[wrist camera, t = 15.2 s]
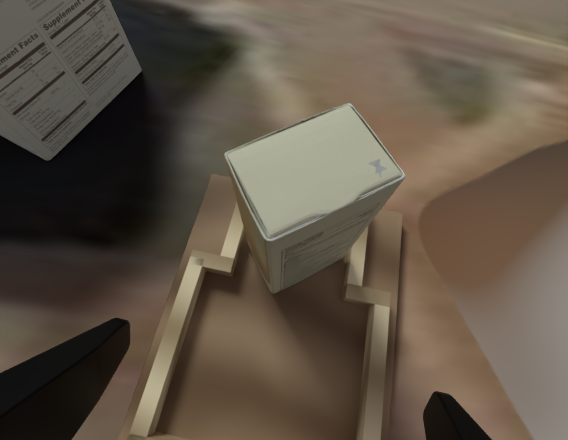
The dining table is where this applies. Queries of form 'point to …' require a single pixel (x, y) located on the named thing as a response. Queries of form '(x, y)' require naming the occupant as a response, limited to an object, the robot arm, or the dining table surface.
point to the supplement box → (59, 69)
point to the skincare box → (310, 192)
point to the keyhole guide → (271, 341)
